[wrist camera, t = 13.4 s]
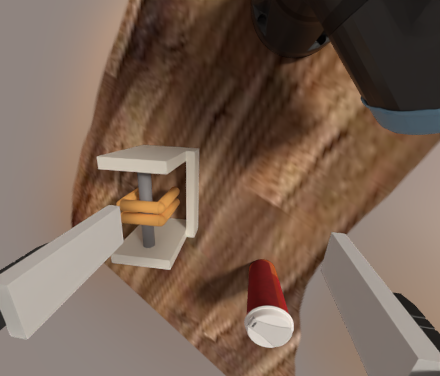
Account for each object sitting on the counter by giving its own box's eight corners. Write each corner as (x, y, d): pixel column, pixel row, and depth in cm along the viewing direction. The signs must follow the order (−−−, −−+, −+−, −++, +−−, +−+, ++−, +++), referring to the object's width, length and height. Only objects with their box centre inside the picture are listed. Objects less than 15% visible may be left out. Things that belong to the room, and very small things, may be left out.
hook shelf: (143, 144, 42) (96, 156, 29) (199, 148, 41) (178, 162, 28) (148, 223, 48) (111, 262, 34) (198, 227, 47) (179, 270, 33)
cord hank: (141, 203, 41) (116, 224, 33) (139, 184, 40) (113, 201, 31) (179, 206, 40) (164, 229, 32) (179, 187, 39) (162, 205, 31)
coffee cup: (238, 274, 49) (235, 337, 35) (255, 249, 47) (259, 305, 33) (269, 289, 50) (279, 357, 36) (287, 265, 47) (306, 327, 33)
